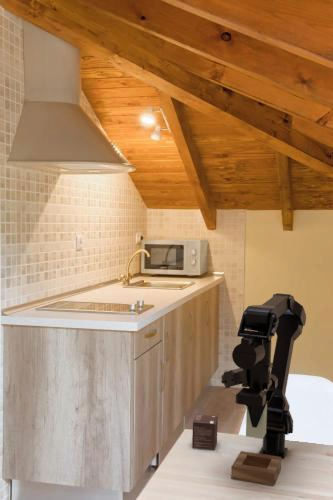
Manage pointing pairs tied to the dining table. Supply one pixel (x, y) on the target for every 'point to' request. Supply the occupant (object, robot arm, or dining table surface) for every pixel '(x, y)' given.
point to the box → (204, 432)
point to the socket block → (256, 468)
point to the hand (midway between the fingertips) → (256, 424)
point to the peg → (260, 429)
